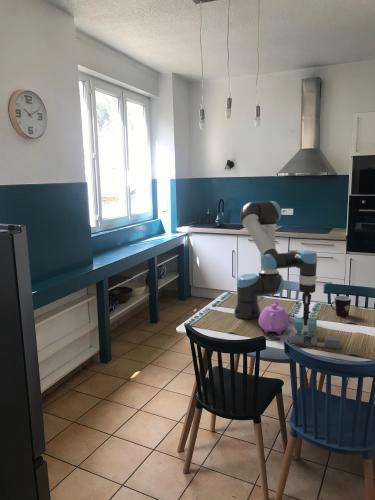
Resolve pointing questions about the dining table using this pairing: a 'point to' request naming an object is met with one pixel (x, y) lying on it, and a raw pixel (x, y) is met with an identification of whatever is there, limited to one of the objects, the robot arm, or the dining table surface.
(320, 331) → the dining table surface
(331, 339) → the rail
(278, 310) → the teapot
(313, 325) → the clip
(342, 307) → the coffee mug
